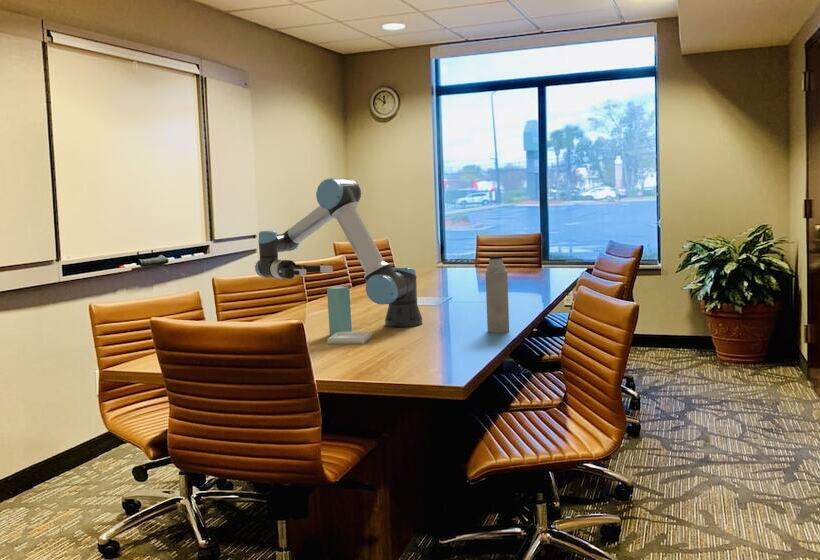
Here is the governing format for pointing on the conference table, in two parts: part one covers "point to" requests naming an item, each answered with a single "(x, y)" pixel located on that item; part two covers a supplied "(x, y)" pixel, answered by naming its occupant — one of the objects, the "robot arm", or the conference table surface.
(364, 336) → the tray
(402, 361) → the conference table surface
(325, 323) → the conference table surface
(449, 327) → the conference table surface
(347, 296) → the teal post
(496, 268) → the thermos bottle
